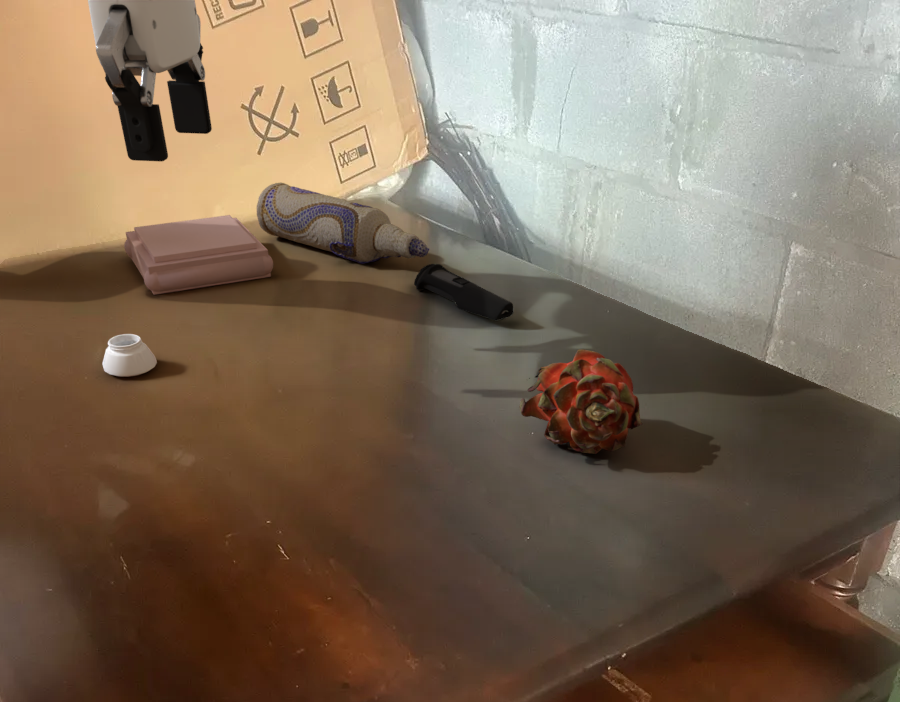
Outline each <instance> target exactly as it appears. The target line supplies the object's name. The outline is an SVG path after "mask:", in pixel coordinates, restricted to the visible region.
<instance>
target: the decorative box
mask: <svg viewBox="0 0 900 702" xmlns="http://www.w3.org/2000/svg"><path fill="white" fill-rule="evenodd" d="M125 237H126V240H125V242H124V245H123V246H124V247H123V248H124V252H125V253H126V255H127V256H128V257H129V258H130V259H131V260H132V262H133V264H134V265H135V267H136V268H137V271H138V272H139V273H140V275H141V277H142V279H143V283H144V285H145V287H146V288H147V289H148V290H150V291H151V293H152V294H153V295H154V296H156V295H163V294H169V293H174V292H180V291H188V290H194V289H200V288H207V287H212V286H219V285H226V284H232V283H238V282H239V283H240V282H246V281H251V280H258V279H264V278H265V279H266V278H270V277H272V271H273V269H274V260H273V258H272V256H271V255H270V254H269V250H268V249H267V248H266V246H264V244H263V243H262V242H261V241H260V240H259V239H258V238H257V237H256V236H255V235H254V234H253V233H252V232H251V231H250V230H249V229H248V228H247V227H246V226H245V224H243V223H242V222H241V220H239V219H238V218H237V217H233V216H232V215H230V214H225V215H219V216H211V217H204V218H203V217H202V218H194V219H187V220H181V221H180V220H179V221H172V222H165V223H164V222H163V223H157V224H149V225H142V226H134V227H133V230H131V231H125Z"/></svg>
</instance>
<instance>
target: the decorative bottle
mask: <svg viewBox="0 0 900 702" xmlns="http://www.w3.org/2000/svg"><path fill="white" fill-rule="evenodd" d="M257 199H258V200H257V203H256V217H257V221H258V225H259V227H260V228H261V229H262V230H263V231H264V232H266V233H267V234H268V235H270V236H274V237H279V238H282V239H286V240H289V241H292V242H294V243H295V242H296V243H298V244H303V245H307V246H310V247H313V248H316V249H320V250H324V251H327V252H331V253H333V254H334V255H336V256H337V257H340V258H343V259H346V260H349V261H353V262H355V263H356V262H357V263H358V264H363V265H364V264H368V263H371V262H376V261H379V260H381V258H382V259H389V258H391V257H394V258H405V259H406V258H407V259H413V258H414V259H415V258H416V257H419V258H423V257H425V256H427V255H428V254H429V252H430V248H428V246H427V244H426V243H425V241H423V240H422V239H420V238H419V236H417V235H416V234H414V233H410V232H407V231H405V230H403V229H402V228H400V226H397V225H396V224H393V223H392V222H391V220H390V217H389V216H388V214H387V213H385V212H384V211H383V210H381V209H380V208H377V207H373V206H370V205H366V204H361V203H358V202H355V201H349V200H347V199H344V198H339V197H336V196H333V195H327V194H324V193H320V192H316V191H313V190H309V189H305V188H300V187H297V186H294V185H293V186H291V185H289V184H287V183H285V182H275V183H271V184H269V185H268V186H266V187H265V188H264V189H263V190H262V191H261V193H260V194H259V196H258V198H257Z"/></svg>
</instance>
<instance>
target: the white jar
mask: <svg viewBox="0 0 900 702" xmlns="http://www.w3.org/2000/svg"><path fill="white" fill-rule="evenodd" d="M101 364H102V367H103V371H104V372H105V373H107V374H108V375H112V376H116V377H123V378H124V377H128V378H129V377H136V376H140V375H143V374H146V373H147V372H149V371H151V370H153V369H154V368H155V367H156V365H157V364H158V362H157V357H156V355H155V354H154V352H153V351H152V349H150V348H149V346H148V345H147V344H146V343H145V342H143V340H142V338H141V337H140V335H137V334H133V333H123V334H117V335H114V336H113V337H110V338H109V339H108V341H107V347H106V348H105V351H104V356H103V359H102V363H101Z"/></svg>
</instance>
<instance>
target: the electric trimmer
mask: <svg viewBox="0 0 900 702" xmlns="http://www.w3.org/2000/svg"><path fill="white" fill-rule="evenodd" d="M413 285H414V286H415V289H416V290H417V291H424V290H427V291H430V292H433V293H434V294H437V296H441V297H443V298H444V299H447V300H449V301H451V302H454V303H455V306H456V308H458V309H459V310H462V311H465V312H467V313H470V314H473V315H476V316H480V317H483V318H486V319H489V320H492V321H500V320H503V319H507V318H509V317H510V318H511V316H513V315H514V303H512V302H511V301H510V300H507V299H505V298H504V297H502V296H499V295H497V294H495V293H494V292H492V291H490V290H488V289H486V288H484V287H481V286H480V285H478V284H476V283H474V282H472V281H470V280H469V279H466V278H464V277H462V276H460V275H459V274H456V273H454V272H452V271H450V270H448V269H446V268H445V267H444V266H443V265H442V264H440V263H431V264H427V265H425V266H423V267H421V269H420V270H419V272H418V273H417V274H416V277H415V279H414V281H413Z"/></svg>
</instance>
